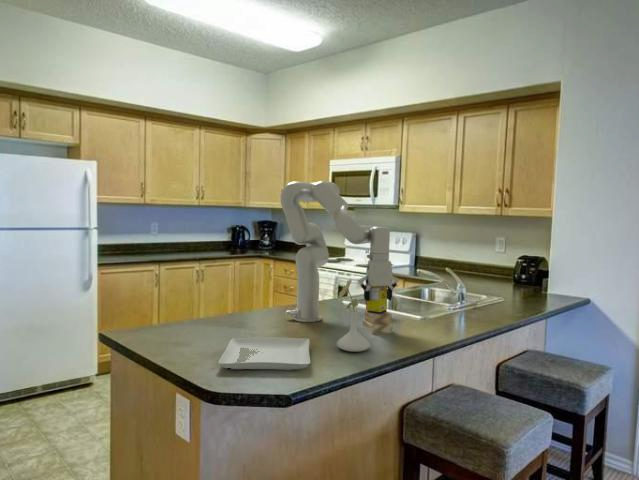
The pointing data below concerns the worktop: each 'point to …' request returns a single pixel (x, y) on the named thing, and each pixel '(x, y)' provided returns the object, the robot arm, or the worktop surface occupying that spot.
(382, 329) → the birch base block
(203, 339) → the worktop surface
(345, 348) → the flower in vase
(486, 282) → the worktop surface
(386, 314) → the maple top block
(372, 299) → the supplement box
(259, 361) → the square plate
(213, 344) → the worktop surface
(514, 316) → the worktop surface
